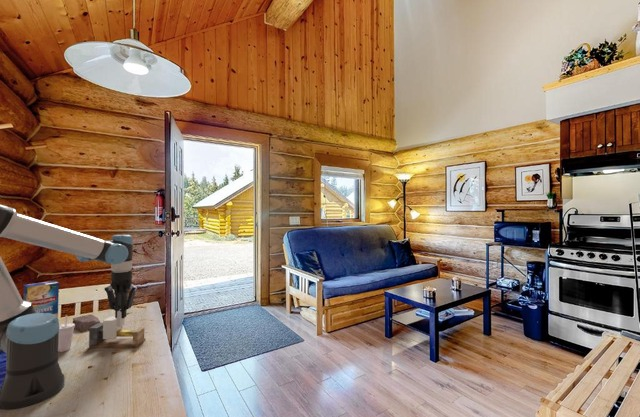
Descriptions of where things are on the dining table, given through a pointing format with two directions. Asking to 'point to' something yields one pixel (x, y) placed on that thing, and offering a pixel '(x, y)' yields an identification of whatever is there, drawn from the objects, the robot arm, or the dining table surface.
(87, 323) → the stone
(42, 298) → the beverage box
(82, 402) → the dining table surface
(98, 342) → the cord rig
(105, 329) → the sleeve
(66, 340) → the smoothie
